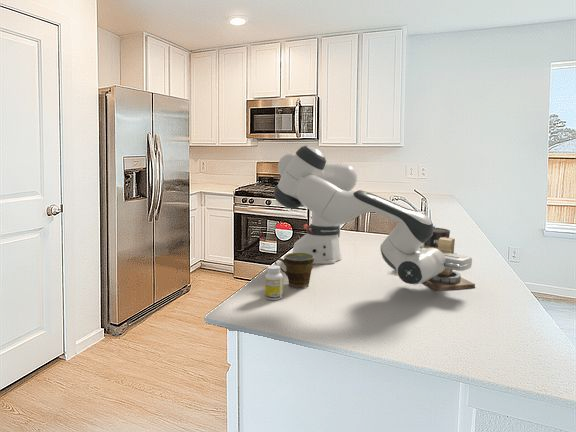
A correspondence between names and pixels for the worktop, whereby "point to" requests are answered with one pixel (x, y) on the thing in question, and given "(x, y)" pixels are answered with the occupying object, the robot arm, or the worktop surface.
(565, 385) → the worktop surface
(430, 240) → the coffee can
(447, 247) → the oak post
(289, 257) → the ceramic cup
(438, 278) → the grey stone ring
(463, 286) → the walnut board
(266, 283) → the supplement bottle
